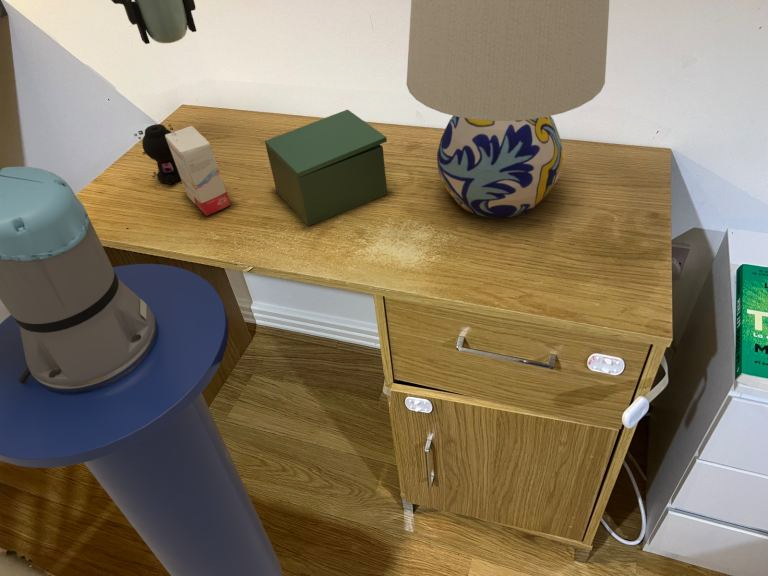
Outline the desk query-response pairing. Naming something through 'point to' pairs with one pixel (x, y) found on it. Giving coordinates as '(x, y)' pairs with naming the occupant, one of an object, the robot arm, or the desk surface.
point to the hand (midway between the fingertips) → (169, 35)
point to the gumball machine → (160, 152)
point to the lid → (324, 142)
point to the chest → (331, 185)
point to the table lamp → (504, 90)
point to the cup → (163, 19)
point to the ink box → (198, 170)
